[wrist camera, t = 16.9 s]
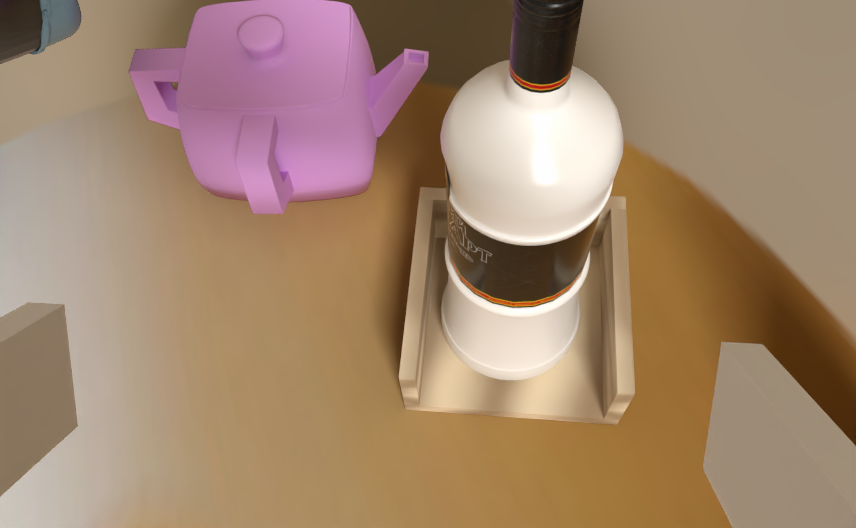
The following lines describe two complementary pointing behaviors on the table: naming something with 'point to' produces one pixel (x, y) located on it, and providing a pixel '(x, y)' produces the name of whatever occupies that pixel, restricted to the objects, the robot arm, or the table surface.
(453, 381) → the bottle rest
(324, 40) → the teakettle
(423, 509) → the table surface
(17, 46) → the robot arm
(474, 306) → the vodka
